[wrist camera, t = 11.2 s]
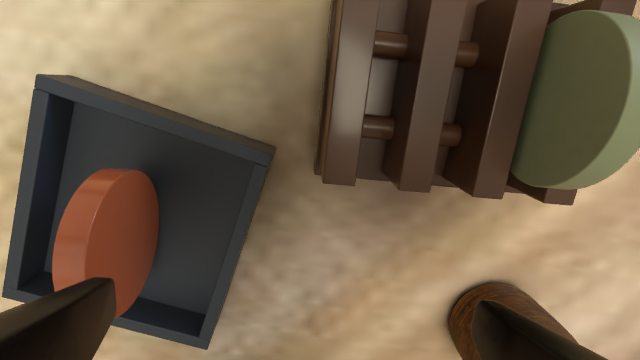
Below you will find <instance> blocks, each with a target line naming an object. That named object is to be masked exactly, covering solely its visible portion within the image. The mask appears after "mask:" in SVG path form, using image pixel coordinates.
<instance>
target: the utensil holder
mask: <svg viewBox="0 0 640 360" xmlns="http://www.w3.org/2000/svg"><path fill="white" fill-rule="evenodd" d="M479 300H495V301H498V302H500V303H501V304H503V305H505V306H507V307H509V308H511V309H513V310H515V311H517V312H519V313H520V314H522V315H524V316H526V317H528V318H530V319H532V320H534V321H536V322H538V323H539V324H541V325H543V326H545V327H547V328H549V329H551V330H553V331H555V332H557V333H558V334H560V335H562V336H564V337H566V338H568V339H570V340H572V341H574V342H576V343H577V341H576V340H575V339H574V338H573V336H572V335H571V334H570V333H569V332H568V331H567V330H566V329H565V328H564V327H563V326H562V325H561V324H560V323H559V322H558V321H557V320H555V319H554V318H553V317H552V316H551V315H550V314H549V313H548V312H547V311H546V310H545V309H544V308H542V307H541V306H540V305H539V304H538V303H537V302H536V301H535V300H533V299H532V298H531V297H530V296H529V295H527V294H526V293H525V292H523V291H522V290H520V289H518V288H516V287H514V286H511V285H508V284H502V283H491V284H485V285H482V286H479V287H477V288H474V289H473V290H471V291H469V292H468V293H466V294H465V295H464V296H463V297H462V298H461V299H460V300H459V301H458V302H457V304H456V305H455V307H454V309H453V311H452V313H451V317H450V333H451V337H452V340H453V342H454V344H455V346H456V348H457V350H458V352H459V354H460V356H461V357H462V359H463V360H481V359H480V357H479V354H478V352H477V349H476V347H475V344H474V342H473V339H472V336H471V324H472V319H473V315H474V311H475V307H476V304H477V302H478V301H479ZM577 344H578V343H577Z"/></svg>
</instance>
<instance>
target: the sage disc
mask: <svg viewBox="0 0 640 360" xmlns="http://www.w3.org/2000/svg"><path fill="white" fill-rule="evenodd" d="M639 148H640V20H639V19H637V18H634V17H632V16H630V15H625V14H620V13H612V12H605V11H597V10H581V11H575V12H572V13H569V14H567V15H564V16H562V17H560V18H558V19H556V20H555V21H553V22H552V23H550V24H549V25H547V26H546V30H545V34H544V38H543V42H542V46H541V50H540V54H539V58H538V61H537V65H536V69H535V73H534V77H533V81H532V85H531V89H530V93H529V97H528V101H527V104H526V108H525V112H524V116H523V120H522V124H521V128H520V132H519V136H518V140H517V144H516V147H515V151H514V155H513V159H512V163H511V167H510V171H511V172H512V174H513V175H514V176H515V177H517V178H518V179H519V180H520V181H522V182H524V183H526V184H528V185H531V186H534V187H542V188H553V189H563V190H572V189H580V188H585V187H588V186H590V185H593V184H596V183H598V182H600V181H602V180H604V179H606V178H607V177H609V176H610V175H612V174H613V173H615V172H616V171H617V170H619V169H620V168H621V167H622V166H623V165H624V164H625V163H627V162H628V160H629V159H630V158H631V157H632V156H633V155H634V154H635V153H636V152H637V150H638V149H639Z"/></svg>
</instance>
